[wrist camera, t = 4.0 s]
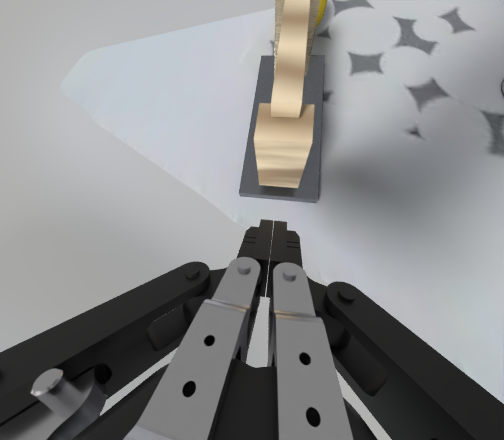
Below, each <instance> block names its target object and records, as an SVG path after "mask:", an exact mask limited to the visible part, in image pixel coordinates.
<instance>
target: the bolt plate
mask: <svg viewBox="0 0 504 440" xmlns="http://www.w3.org/2000/svg"><path fill="white" fill-rule="evenodd" d="M284 2H285V0H276V3H275V56H261V62H260V68H259V74H258V80H257V86H256V92H255V98H254V105H253V111H252V117H251V123H250V129H249V135H248V141H247V147H246V153H245V159H244V165H243V171H242V177H241V183H240V189H239V194H240V196H244V197H255V198H266V199H277V200H289V201H300V202H311V203H316V202H317V201H318V192H319V169H320V147H321V124H322V102H323V80H324V57H325V55H310V54H311V49H312V43H313V38H314V32H315V27H316V21H317V15H318V10H319V4H320V0H310V8H309V21H308V33H307V45H306V58H305V70H304V82H303V95H302V104H311V105H314V123H313V140H312V145H311V148H310V151H309V155H308V158H307V161H306V164H305V167H304V170H303V174H302V177H301V180H300V183H299V186H298V188H291V187H278V186H266V185H259V178H258V170H257V162H256V154H255V146H254V134H255V128H256V122H257V115H258V109H259V103H271V99H272V91H273V84H274V76H275V69H276V62H277V54H278V47H279V39H280V32H281V25H282V17H283V10H284Z"/></svg>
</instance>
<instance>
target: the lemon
mask: <svg viewBox="0 0 504 440" xmlns="http://www.w3.org/2000/svg"><path fill="white" fill-rule="evenodd" d="M326 3H327V0H320V4H319V10H318V15H317V21H316V27H317V26H318V24H319V23H320V21H321V19H322V17H323V15H324V11H325V8H326ZM316 27H315V28H316Z"/></svg>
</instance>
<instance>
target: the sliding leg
mask: <svg viewBox="0 0 504 440" xmlns="http://www.w3.org/2000/svg"><path fill="white" fill-rule="evenodd" d="M309 8H310V0H285V2H284V10H283V17H282V25H281V32H280V39H279V47H278V54H277V62H276V69H275V76H274V84H273V91H272V99H271V103H259V109H258V115H257V122H256V128H255V134H254V146H255V154H256V162H257V170H258V178H259V185H266V186H278V187H291V188H298V186H299V183H300V180H301V177H302V174H303V170H304V167H305V164H306V161H307V158H308V155H309V151H310V148H311V145H312V140H313V123H314V105H311V104H302V95H303V82H304V70H305V58H306V45H307V33H308V21H309Z"/></svg>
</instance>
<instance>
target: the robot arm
mask: <svg viewBox="0 0 504 440" xmlns="http://www.w3.org/2000/svg"><path fill="white" fill-rule="evenodd" d="M502 90H503V94H504V81H503V83H502ZM272 230H273V237H272ZM271 240H272V245H271ZM270 250H271V253H270ZM269 258H270V262H269ZM268 265H269V273H268ZM267 274H268V283H267ZM266 283H267V293H266V297H269V298H270V305H269V320H268V324H269V325H268V328H269V329H268V366H267V367H260V368H254V367H251V366H249V365H248V364H246V360H247V354H248V349H249V344H250V340H251V336H252V332H253V328H254V324H255V319H256V315H257V310H258V306H259V303H260V296H262V297H265V290H266ZM178 306H179V307H178ZM173 309H174V310H173ZM168 312H169V313H168ZM165 314H166V315H165ZM163 315H164V316H163ZM160 317H161V318H160ZM158 318H159V319H158ZM155 320H156V321H155ZM177 347H178V349H177V351H176V353H175V355H174V357H173V358H172V360H171V362H170V363H169V364H167V365H166V366H164V367H162V368H161V369H159V370H158V371H156V372H155V373H153V374H152V375H151V376H150V377H149V378H147V379H146V380H145V381H143V382H142V383H141V384H140V385H139V386H138V387H136V388H135V389H134V390H132V391H131V392H130V393H129V394H127V395H126V396H125V397H124V398H122V399H121V400H120V401H119V402H118V403H116V404H115V405H114V406H112V408H110V409H109V410H107V411H106V412H105V413H104V414H102V415H101V416H100V413H101V411H102V409H103V407H104V405H105V402H106V400H107V399H108V398H109V397H111V396H112V395H114V394H115V393H116V392H118V391H119V390H120V389H122V388H123V387H124V386H126V385H127V384H129V382H131V381H133V380H134V379H135V378H137V377H138V376H139V375H141V374H142V373H143V372H145V371H146V370H147V369H149V368H150V367H152V366H153V365H154V364H156V363H157V362H158V361H160V360H161V359H162V358H164V357H165V356H166V355H168V354H169V353H170V352H172V351H173V350H174V349H176V348H177ZM335 368H336V369H335ZM336 370H337V371H338V372H339V373H340V374H341V376H342V377H343V378H344V380H345V381H346V382H347V383H348V385H349V386H350V387H351V388H352V390H353V391H354V392H355V394H356V395H357V396H358V397H359V398H360V400H361V401H362V402H363V404H364V405H365V406H366V407H367V409H368V410H369V411H370V412H371V414H372V415H373V416H374V417H375V419H376V420H377V421H378V423H379V424H380V425H381V426H382V428H383V429H384V430H385V431H386V433H387V434H388V435H389V436H390V438H391V439H392V440H504V404H503V403H502V402H500V401H499V400H498V399H496V398H495V397H494V396H493V395H491V394H490V393H489V392H488V391H486V390H485V389H484V388H483V387H481V386H480V385H479V384H477V383H476V382H475V381H474V380H472V379H471V378H470V377H469V376H467V375H466V374H465V373H464V372H462V371H461V370H460V369H458V368H457V367H456V366H455V365H453V364H452V363H451V362H450V361H448V360H447V359H446V358H445V357H443V356H442V355H441V354H440V353H438V352H437V351H436V350H434V349H433V348H432V347H431V346H429V345H428V344H427V343H426V342H424V341H423V340H422V339H421V338H419V337H418V336H417V335H415V334H414V333H413V332H412V331H410V330H409V329H408V328H407V327H405V326H404V325H403V324H402V323H400V322H399V321H398V320H396V319H395V318H394V317H393V316H391V315H390V314H389V313H388V312H386V311H385V310H384V309H383V308H381V307H380V306H379V305H377V304H376V303H375V302H374V301H372V300H371V299H370V298H369V297H367V296H366V295H365V294H364V293H362V292H361V291H360V290H358V289H357V288H356V287H354V286H352V285H350V284H348V283H345V282H333V283H331V284H329V285H328V287H327V286H324V285H322V284H319V283H317V282H314V281H313V280H311V279H310V278H308V276H307V275H306V273H305V271H304V270H303V268H302V258H301V249H300V238H299V236H298V234H297V233H296V232H295V231H288V230H287V222H282V221H274V228H273V221H272V220H263V219H261V222H260V226H259V227H250V228H249V229H248V230H247V231H246V233H245V236H244V239H243V242H242V244H241V247H240V250H239V253H238V256H237V258H236V259H234V260H233V261H232V262H231V263H230V264H229V266H228V267H227V268H224V269H219V270H209V267H208V266H207V265H206V264H205V263H202V262H190V263H187V264H184V265H182V266H180V267H178V268H176V269H174V270H172V271H170V272H168V273H166V274H163V275H161V276H159V277H157V278H155V279H153V280H151V281H149V282H147V283H145V284H143V285H140V286H139V287H136V288H134V289H132V290H130V291H128V292H126V293H124V294H122V295H120V296H117V297H116V298H113V299H111V300H109V301H107V302H105V303H103V304H101V305H99V306H97V307H94V308H93V309H90V310H88V311H86V312H84V313H82V314H80V315H78V316H76V317H74V318H72V319H69V320H67V321H65V322H63V323H61V324H59V325H57V326H55V327H53V328H51V329H49V330H46V331H44V332H42V333H40V334H38V335H36V336H34V337H32V338H30V339H28V340H26V341H23V342H21V343H19V344H17V345H15V346H13V347H11V348H9V349H7V350H5V351H3V352H0V440H377V438H376V437H375V435H374V434H373V433H372V431H371V430H370V428H369V427H368V426H367V424H366V423H365V421H364V420H363V419H362V418H361V416H360V415H359V414H358V413H357V411H356V410H355V409H354V408H353V407H352V406H351V405H350V404H349V403H348V402H347V401H346V400H345V399H344V398H343V397H342V393H341V389H340V385H339V381H338V377H337V373H336Z"/></svg>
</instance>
